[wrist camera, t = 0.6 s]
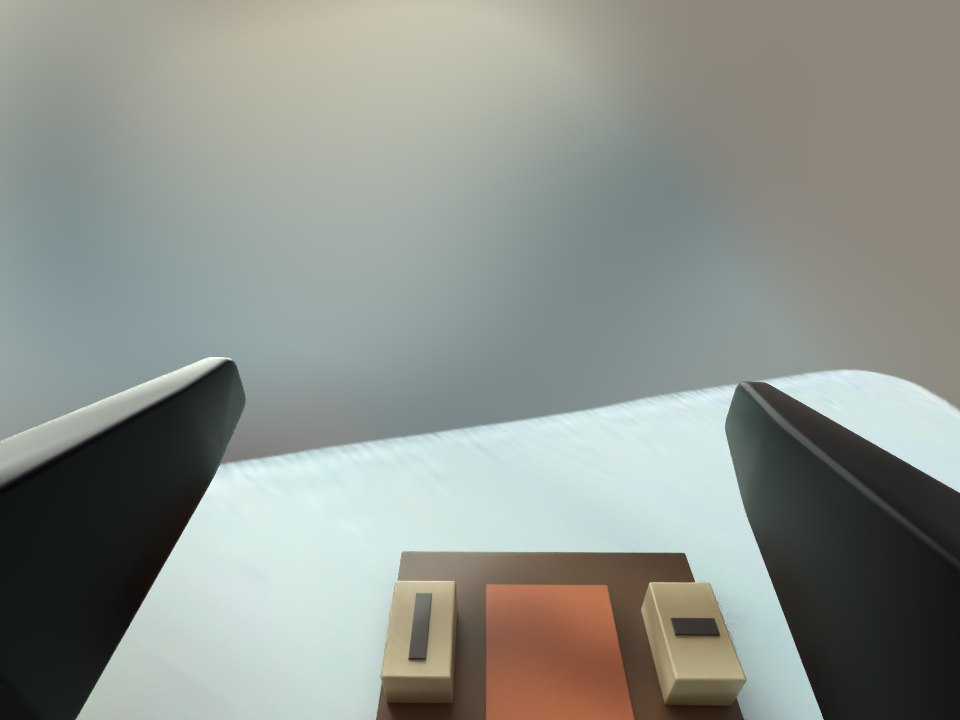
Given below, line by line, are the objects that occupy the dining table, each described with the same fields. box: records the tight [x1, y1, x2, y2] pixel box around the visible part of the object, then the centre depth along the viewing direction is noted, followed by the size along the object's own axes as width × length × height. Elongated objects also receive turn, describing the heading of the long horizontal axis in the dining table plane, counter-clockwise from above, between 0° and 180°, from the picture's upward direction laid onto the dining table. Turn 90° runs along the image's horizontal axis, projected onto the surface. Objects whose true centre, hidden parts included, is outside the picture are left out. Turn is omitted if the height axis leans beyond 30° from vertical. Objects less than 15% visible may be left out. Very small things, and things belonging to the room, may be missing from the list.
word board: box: [376, 552, 746, 720], centre depth 20 cm, size 9×13×4 cm
